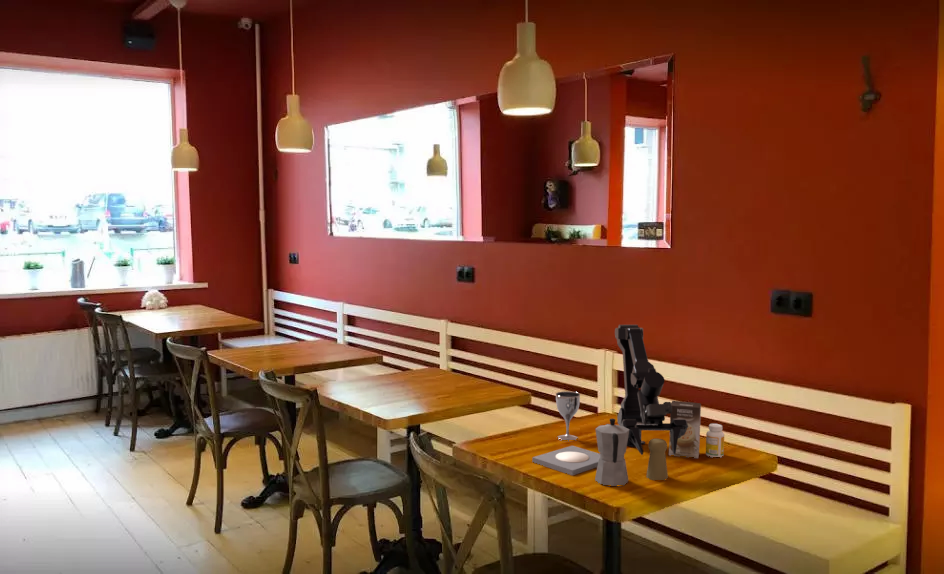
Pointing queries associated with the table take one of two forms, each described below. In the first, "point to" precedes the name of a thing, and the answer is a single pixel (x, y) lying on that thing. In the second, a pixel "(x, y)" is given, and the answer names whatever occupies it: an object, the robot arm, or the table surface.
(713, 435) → the supplement bottle
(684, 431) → the robot arm
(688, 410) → the coffee box
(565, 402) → the wine glass
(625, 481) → the coffeepot
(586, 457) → the serving board
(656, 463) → the cork
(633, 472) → the table surface
